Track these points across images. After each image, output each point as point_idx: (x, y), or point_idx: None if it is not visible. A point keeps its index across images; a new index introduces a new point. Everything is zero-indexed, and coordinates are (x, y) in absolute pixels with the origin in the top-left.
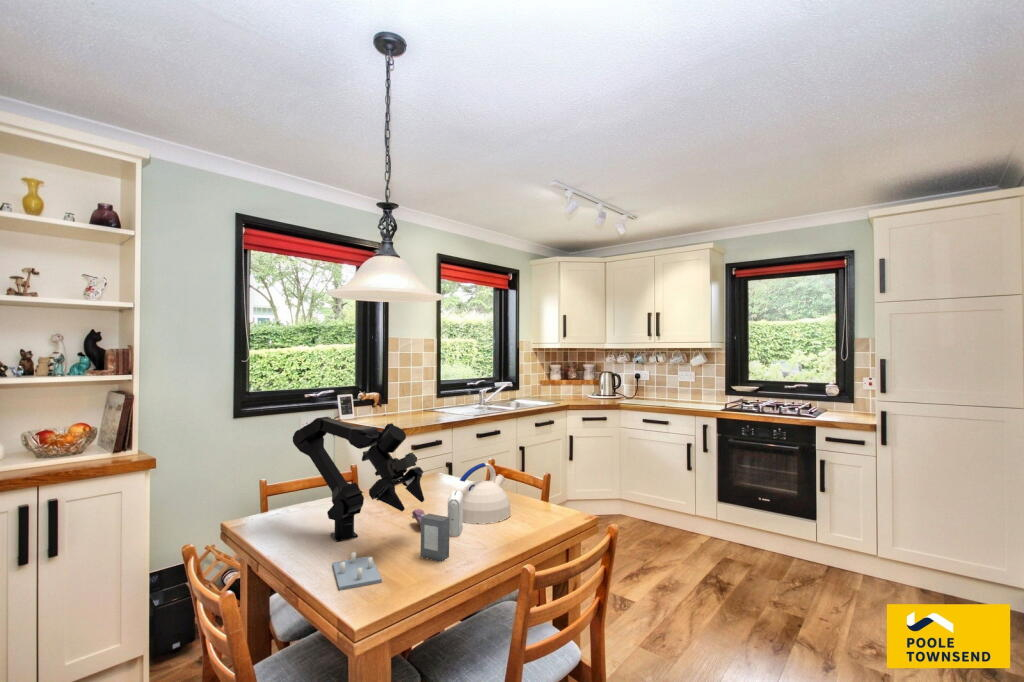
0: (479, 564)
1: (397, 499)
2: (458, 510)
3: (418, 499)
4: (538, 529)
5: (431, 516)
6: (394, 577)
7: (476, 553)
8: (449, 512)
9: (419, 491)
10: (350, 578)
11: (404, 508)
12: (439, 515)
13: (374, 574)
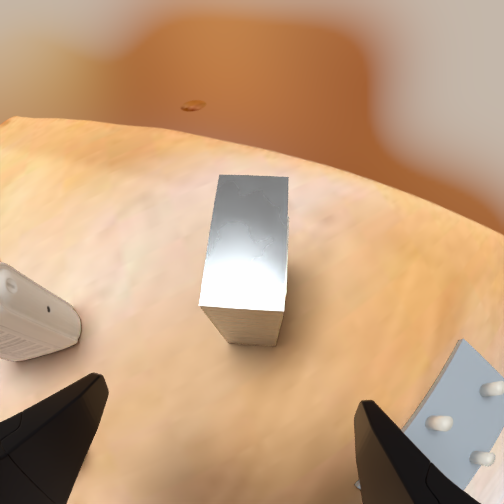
0: (250, 168)
1: (423, 459)
2: (22, 277)
3: (98, 422)
4: (35, 155)
5: (243, 261)
6: (426, 330)
7: (184, 201)
8: (29, 316)
9: (56, 418)
10: (489, 411)
11: (365, 401)
12: (211, 228)
13: (455, 377)
